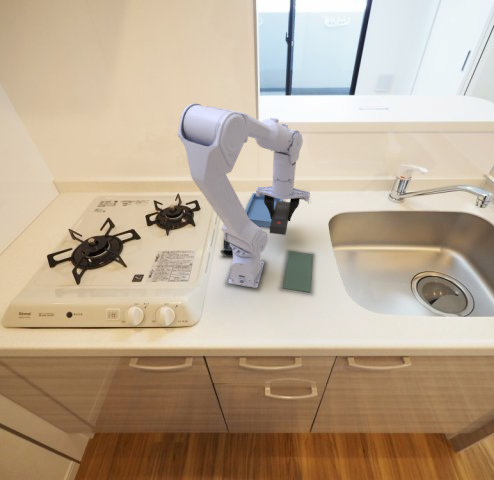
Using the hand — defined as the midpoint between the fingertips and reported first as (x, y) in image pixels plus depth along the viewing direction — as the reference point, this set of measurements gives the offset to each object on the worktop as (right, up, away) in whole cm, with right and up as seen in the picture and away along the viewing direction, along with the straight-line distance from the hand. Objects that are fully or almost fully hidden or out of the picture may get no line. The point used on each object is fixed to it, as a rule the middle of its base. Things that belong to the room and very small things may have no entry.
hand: (280, 218), depth 77 cm
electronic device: (-13, -7, +5) cm, 15 cm away
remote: (0, -1, +1) cm, 1 cm away
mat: (+4, -15, -5) cm, 16 cm away
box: (-5, +4, +17) cm, 18 cm away
